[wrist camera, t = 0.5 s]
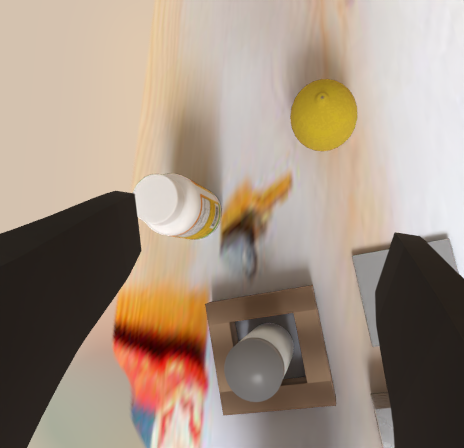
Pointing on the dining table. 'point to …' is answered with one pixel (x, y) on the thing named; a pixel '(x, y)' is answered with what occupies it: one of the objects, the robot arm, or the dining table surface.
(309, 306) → the walnut housing
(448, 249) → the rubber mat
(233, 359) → the cylinder
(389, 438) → the plunger collar
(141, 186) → the supplement bottle
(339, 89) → the lemon
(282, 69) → the dining table surface
